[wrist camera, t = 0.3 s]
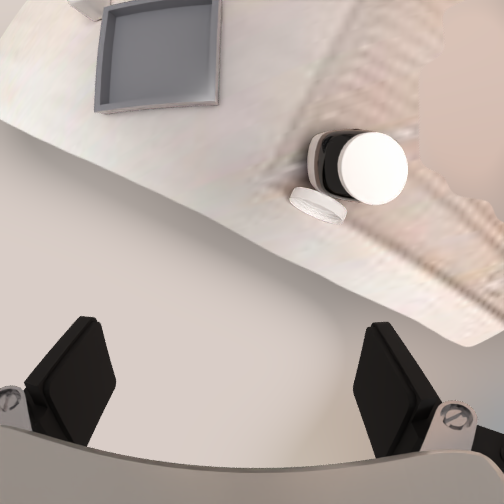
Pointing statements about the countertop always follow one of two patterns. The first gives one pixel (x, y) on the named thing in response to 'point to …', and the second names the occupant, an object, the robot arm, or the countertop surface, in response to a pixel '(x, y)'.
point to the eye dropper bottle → (90, 7)
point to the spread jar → (350, 172)
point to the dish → (158, 55)
